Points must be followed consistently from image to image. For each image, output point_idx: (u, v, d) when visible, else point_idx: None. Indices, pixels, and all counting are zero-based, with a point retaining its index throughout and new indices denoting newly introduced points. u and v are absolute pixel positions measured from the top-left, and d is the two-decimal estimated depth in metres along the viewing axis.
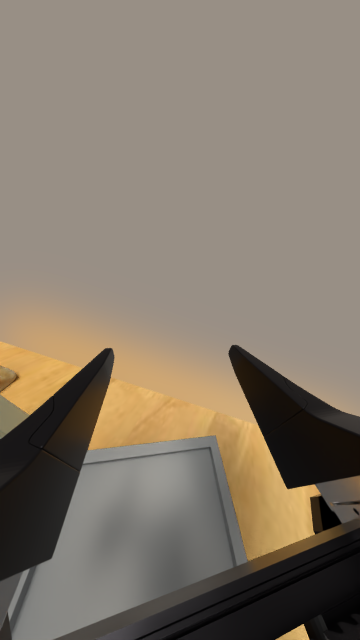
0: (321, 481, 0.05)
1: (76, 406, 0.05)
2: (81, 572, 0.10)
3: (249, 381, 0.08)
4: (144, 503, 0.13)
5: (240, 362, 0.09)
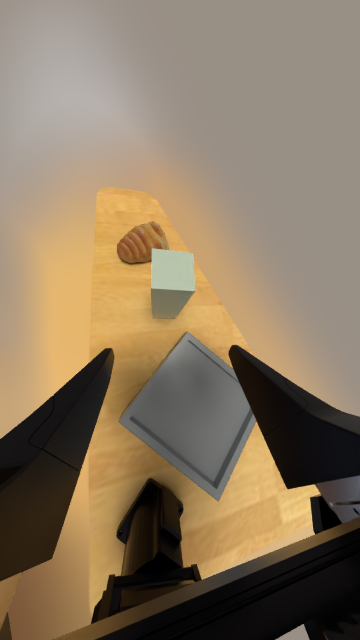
0: (321, 481, 0.05)
1: (76, 406, 0.05)
2: (182, 382, 0.21)
3: (249, 381, 0.08)
4: (212, 385, 0.22)
5: (240, 362, 0.09)
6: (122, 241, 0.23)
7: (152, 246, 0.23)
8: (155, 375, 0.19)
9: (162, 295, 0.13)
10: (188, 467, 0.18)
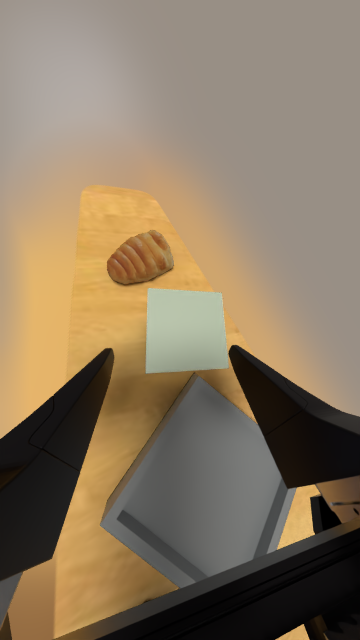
0: (321, 481, 0.05)
1: (76, 406, 0.05)
2: (191, 447, 0.15)
3: (249, 381, 0.08)
4: (231, 449, 0.16)
5: (240, 362, 0.09)
6: (113, 257, 0.17)
7: (152, 263, 0.17)
8: (155, 445, 0.14)
9: None
10: None
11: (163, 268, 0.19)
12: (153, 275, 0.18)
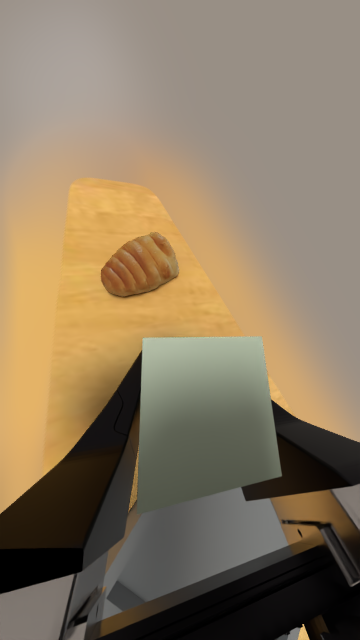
0: (271, 496, 0.05)
1: (139, 400, 0.06)
2: None
3: None
4: None
5: None
6: (108, 265, 0.14)
7: (155, 272, 0.15)
8: None
9: None
10: None
11: (168, 277, 0.16)
12: (156, 285, 0.16)
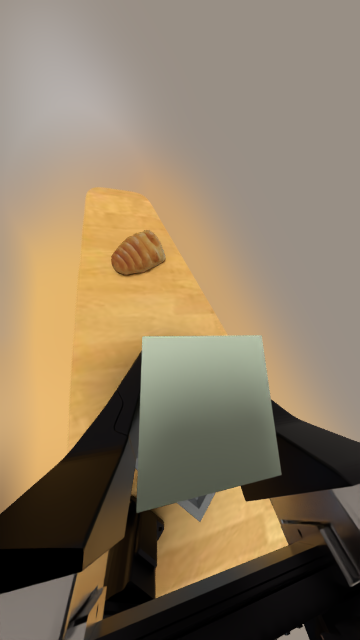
0: (271, 496, 0.05)
1: (139, 400, 0.06)
2: None
3: None
4: None
5: None
6: (116, 253, 0.22)
7: (147, 256, 0.22)
8: None
9: None
10: None
11: (157, 261, 0.23)
12: (148, 267, 0.23)
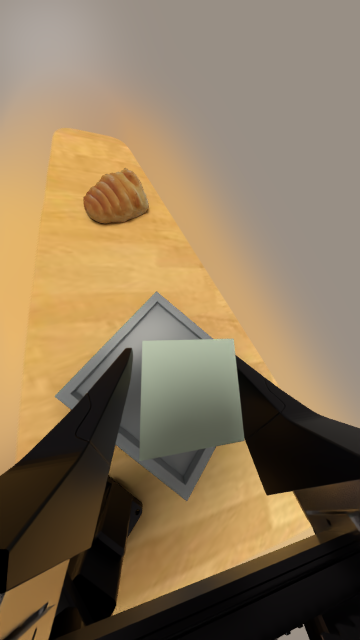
0: (296, 488, 0.05)
1: (110, 403, 0.05)
2: None
3: None
4: None
5: None
6: (89, 193, 0.18)
7: (126, 197, 0.19)
8: (110, 341, 0.15)
9: None
10: None
11: (138, 206, 0.20)
12: (128, 212, 0.20)
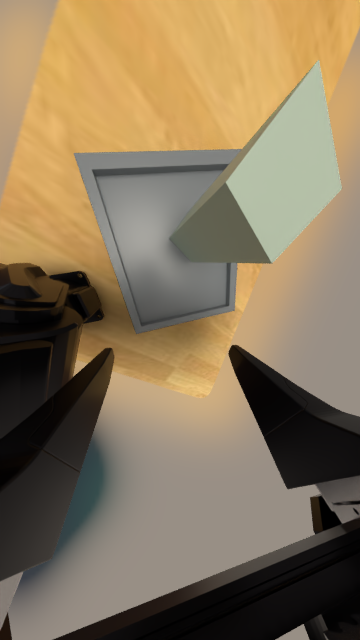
0: (321, 481, 0.05)
1: (76, 406, 0.05)
2: (182, 214, 0.15)
3: (249, 381, 0.08)
4: None
5: (240, 362, 0.09)
6: None
7: None
8: (161, 154, 0.12)
9: (220, 220, 0.06)
10: (129, 290, 0.16)
11: None
12: None
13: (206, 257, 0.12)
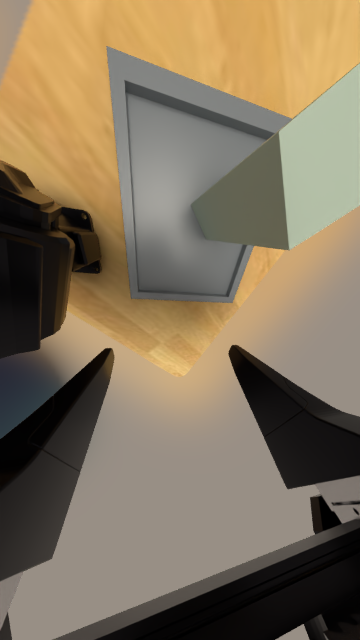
0: (321, 481, 0.05)
1: (76, 406, 0.05)
2: (212, 180, 0.13)
3: (249, 381, 0.08)
4: None
5: (240, 362, 0.09)
6: None
7: None
8: (211, 92, 0.10)
9: (254, 187, 0.06)
10: (134, 250, 0.15)
11: None
12: None
13: (224, 235, 0.11)
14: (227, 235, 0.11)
